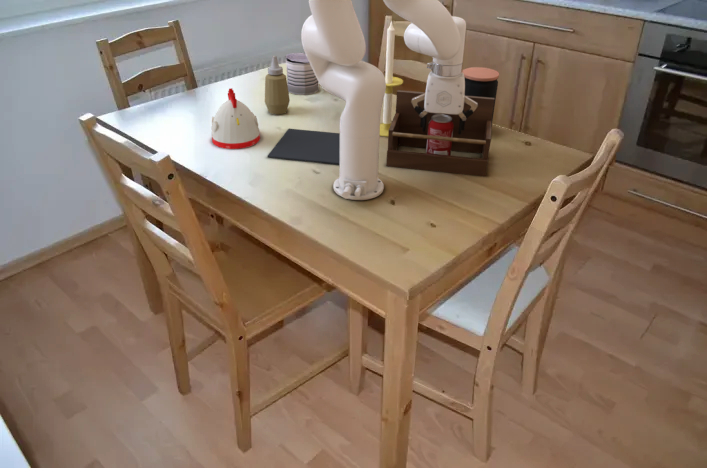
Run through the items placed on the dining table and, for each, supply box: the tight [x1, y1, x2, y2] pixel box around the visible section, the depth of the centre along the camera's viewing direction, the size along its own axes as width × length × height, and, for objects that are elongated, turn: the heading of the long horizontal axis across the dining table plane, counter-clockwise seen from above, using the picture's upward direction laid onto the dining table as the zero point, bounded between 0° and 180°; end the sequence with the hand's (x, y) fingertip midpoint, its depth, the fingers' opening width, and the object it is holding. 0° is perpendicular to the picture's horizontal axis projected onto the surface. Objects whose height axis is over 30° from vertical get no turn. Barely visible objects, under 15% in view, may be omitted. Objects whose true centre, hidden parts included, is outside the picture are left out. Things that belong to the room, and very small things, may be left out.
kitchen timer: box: [210, 87, 261, 150], centre depth 168 cm, size 14×14×15 cm
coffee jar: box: [462, 66, 500, 128], centre depth 175 cm, size 11×11×18 cm
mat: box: [267, 128, 340, 166], centre depth 167 cm, size 20×24×1 cm
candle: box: [379, 19, 404, 138], centre depth 170 cm, size 10×10×32 cm
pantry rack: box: [385, 89, 494, 177], centre depth 158 cm, size 15×26×16 cm, turn 78°
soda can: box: [425, 114, 454, 156], centre depth 159 cm, size 7×7×12 cm
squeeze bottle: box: [264, 55, 291, 115], centre depth 186 cm, size 8×8×18 cm
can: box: [284, 52, 320, 96], centre depth 206 cm, size 11×11×12 cm
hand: (441, 131), depth 158 cm, fingers open, 9 cm apart
